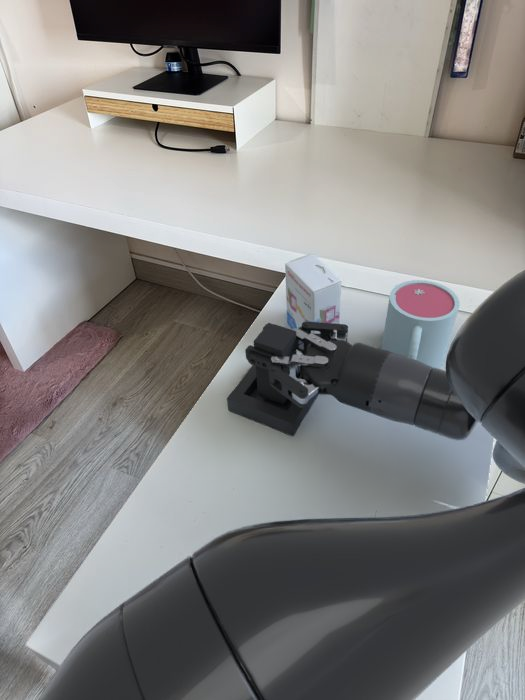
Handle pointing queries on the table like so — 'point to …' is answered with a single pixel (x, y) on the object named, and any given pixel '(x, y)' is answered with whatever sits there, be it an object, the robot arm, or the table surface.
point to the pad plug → (279, 344)
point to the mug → (420, 321)
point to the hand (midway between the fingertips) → (256, 341)
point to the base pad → (266, 406)
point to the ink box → (311, 292)
